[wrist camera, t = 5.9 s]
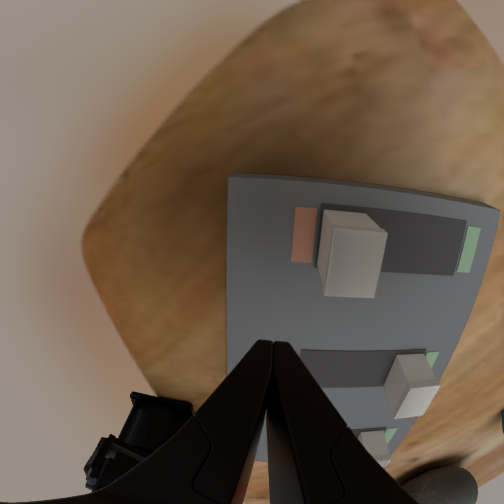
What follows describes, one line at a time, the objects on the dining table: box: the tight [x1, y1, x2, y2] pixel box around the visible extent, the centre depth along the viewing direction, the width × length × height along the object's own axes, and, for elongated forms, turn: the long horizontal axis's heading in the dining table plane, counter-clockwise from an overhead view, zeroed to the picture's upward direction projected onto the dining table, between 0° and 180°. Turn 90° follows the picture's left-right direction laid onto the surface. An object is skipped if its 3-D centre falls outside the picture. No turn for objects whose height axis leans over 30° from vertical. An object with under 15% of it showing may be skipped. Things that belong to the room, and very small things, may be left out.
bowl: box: [402, 466, 478, 504], centre depth 27 cm, size 15×15×10 cm
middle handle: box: [384, 354, 441, 419], centre depth 18 cm, size 2×3×4 cm
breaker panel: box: [227, 173, 500, 462], centre depth 21 cm, size 18×28×2 cm, turn 178°
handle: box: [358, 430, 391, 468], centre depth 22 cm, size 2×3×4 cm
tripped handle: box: [317, 210, 388, 298], centre depth 15 cm, size 2×3×4 cm
